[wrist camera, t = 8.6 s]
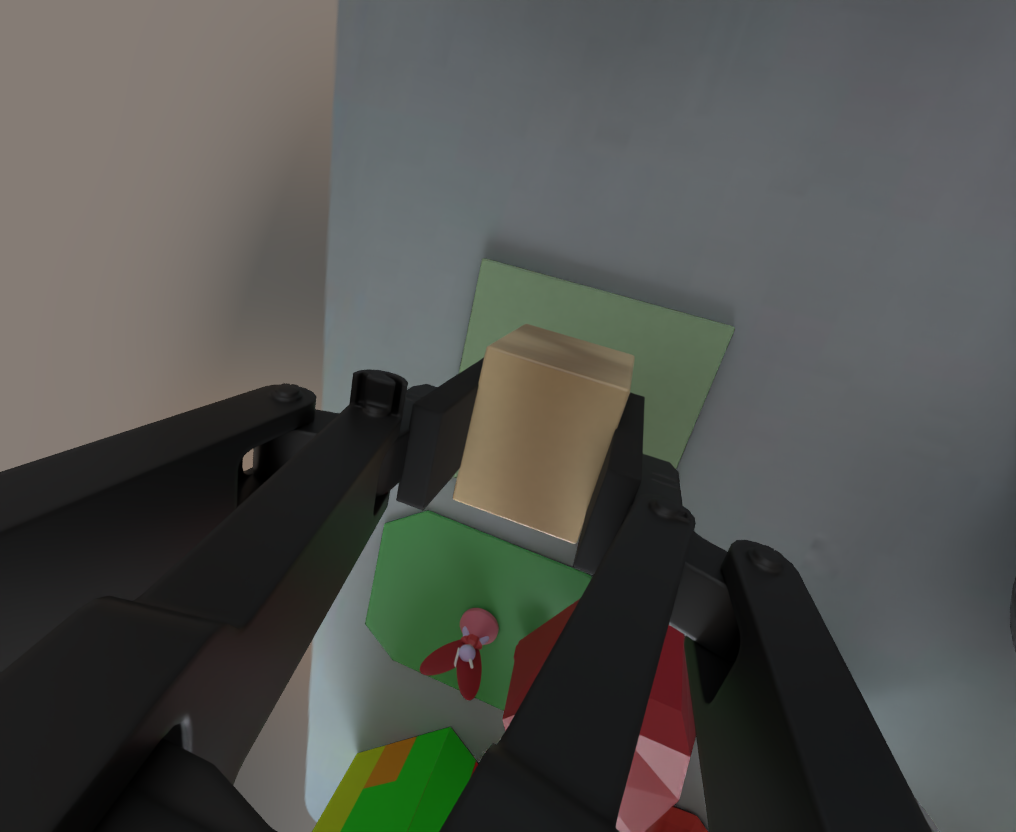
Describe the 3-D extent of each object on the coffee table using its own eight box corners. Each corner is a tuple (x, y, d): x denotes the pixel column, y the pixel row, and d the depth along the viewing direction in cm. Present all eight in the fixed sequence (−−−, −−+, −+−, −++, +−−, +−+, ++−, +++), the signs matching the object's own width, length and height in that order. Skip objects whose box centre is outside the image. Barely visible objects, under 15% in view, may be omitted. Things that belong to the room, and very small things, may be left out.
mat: (441, 468, 28) (438, 472, 28) (485, 258, 24) (481, 258, 23) (644, 540, 26) (644, 545, 26) (733, 326, 22) (735, 328, 21)
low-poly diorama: (634, 767, 32) (629, 948, 23) (362, 643, 35) (274, 764, 27) (733, 595, 26) (771, 755, 18) (397, 464, 29) (298, 550, 21)
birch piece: (493, 446, 19) (451, 500, 15) (524, 322, 17) (486, 345, 13) (592, 480, 18) (575, 546, 14) (635, 355, 17) (630, 389, 12)
